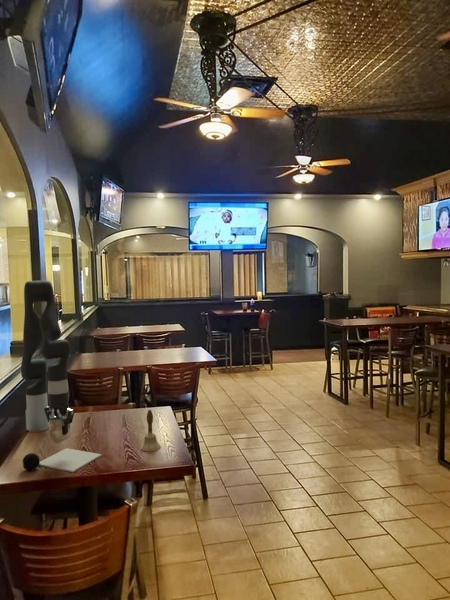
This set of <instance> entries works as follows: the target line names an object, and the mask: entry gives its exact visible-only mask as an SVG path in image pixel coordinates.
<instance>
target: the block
mask: <svg viewBox="0 0 450 600" xmlns="http://www.w3.org/2000/svg"><path fill="white" fill-rule="evenodd" d="M63 417H64V416H63ZM64 421H65V419H64ZM48 429H49V443H53V444H60V443H62V442H64V441H67V440H68V439H70V438H72V431H71V423H70V424H68V433H67V434H66V435H62V422H61V420H60V419H59V417H55V418H52V419H51V418H50V419H49V428H48Z"/></svg>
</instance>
